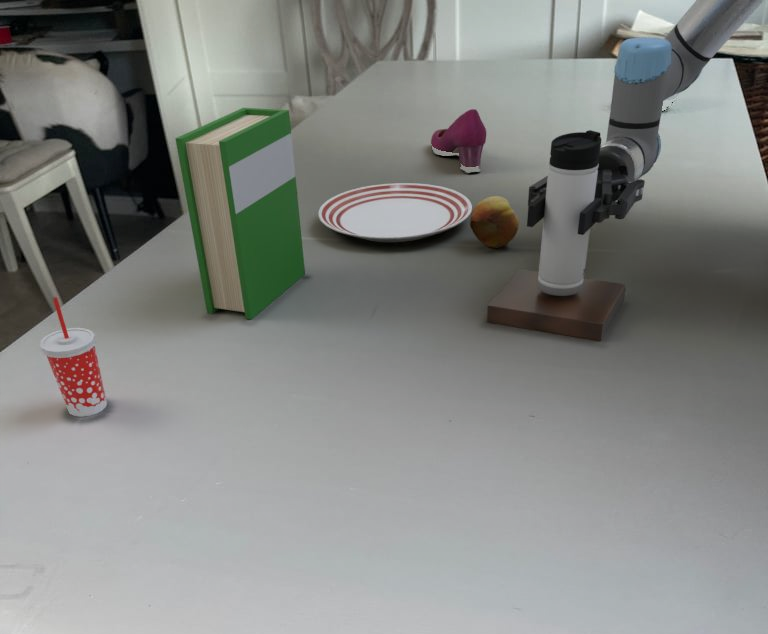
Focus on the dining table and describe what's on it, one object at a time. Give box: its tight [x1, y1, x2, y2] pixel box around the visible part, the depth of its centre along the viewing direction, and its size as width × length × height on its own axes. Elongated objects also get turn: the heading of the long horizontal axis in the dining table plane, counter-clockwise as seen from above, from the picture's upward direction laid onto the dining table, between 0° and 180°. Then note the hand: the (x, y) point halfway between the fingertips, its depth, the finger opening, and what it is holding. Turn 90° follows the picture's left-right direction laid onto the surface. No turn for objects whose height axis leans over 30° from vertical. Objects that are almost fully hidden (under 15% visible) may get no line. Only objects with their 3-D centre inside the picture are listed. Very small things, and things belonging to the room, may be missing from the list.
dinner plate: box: [317, 182, 473, 243], centre depth 145 cm, size 28×27×3 cm
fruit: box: [469, 195, 520, 249], centre depth 133 cm, size 8×8×8 cm
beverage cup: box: [39, 296, 108, 418], centre depth 94 cm, size 6×6×14 cm
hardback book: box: [174, 107, 306, 320], centre depth 116 cm, size 18×7×24 cm, turn 158°
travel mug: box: [537, 129, 602, 296], centre depth 108 cm, size 6×7×20 cm
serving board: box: [486, 268, 627, 342], centre depth 114 cm, size 16×14×2 cm
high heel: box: [430, 108, 487, 174], centre depth 174 cm, size 9×26×12 cm, turn 18°
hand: (555, 220), depth 104 cm, fingers closed on travel mug, 6 cm apart
